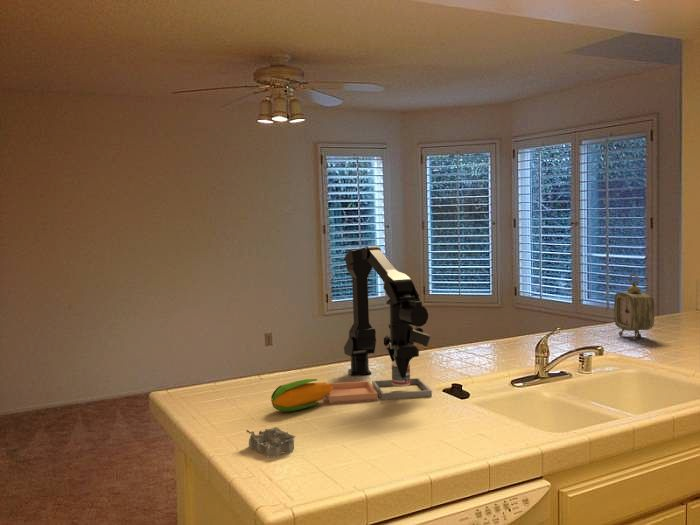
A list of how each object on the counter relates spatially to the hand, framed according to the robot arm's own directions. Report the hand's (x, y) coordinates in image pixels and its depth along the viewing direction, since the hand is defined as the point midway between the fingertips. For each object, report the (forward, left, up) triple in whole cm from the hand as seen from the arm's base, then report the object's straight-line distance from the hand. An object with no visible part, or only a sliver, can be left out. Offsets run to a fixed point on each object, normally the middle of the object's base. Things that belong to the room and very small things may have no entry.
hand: (400, 375), depth 187 cm
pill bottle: (0, 0, -3) cm, 3 cm away
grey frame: (0, 0, -5) cm, 5 cm away
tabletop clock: (-53, +106, -5) cm, 119 cm away
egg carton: (+38, -38, -5) cm, 54 cm away
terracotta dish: (+1, -15, -5) cm, 16 cm away
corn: (+9, -29, -5) cm, 31 cm away
